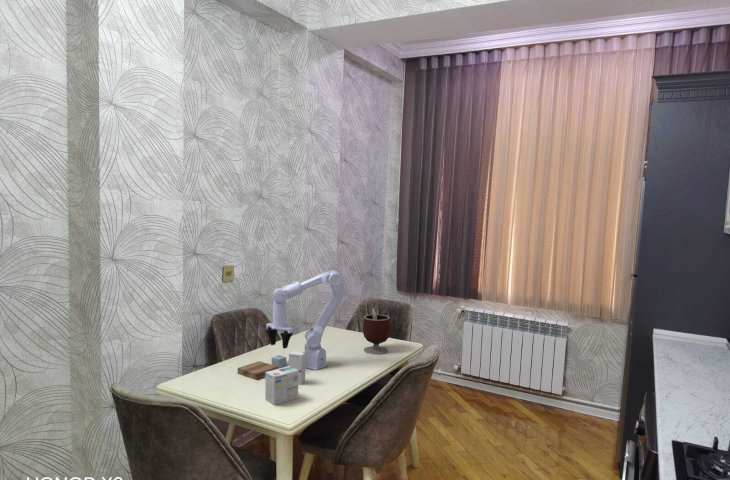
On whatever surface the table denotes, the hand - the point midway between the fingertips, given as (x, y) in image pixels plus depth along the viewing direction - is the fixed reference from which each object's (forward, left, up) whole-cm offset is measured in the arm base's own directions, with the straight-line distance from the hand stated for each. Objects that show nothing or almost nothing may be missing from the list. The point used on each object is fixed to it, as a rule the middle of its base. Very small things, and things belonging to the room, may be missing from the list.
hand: (279, 346), depth 210 cm
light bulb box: (-27, +24, -10) cm, 37 cm away
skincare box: (-19, +8, -10) cm, 23 cm away
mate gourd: (-18, -49, -10) cm, 53 cm away
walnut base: (+1, +11, -10) cm, 15 cm away
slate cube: (0, 0, -9) cm, 9 cm away
